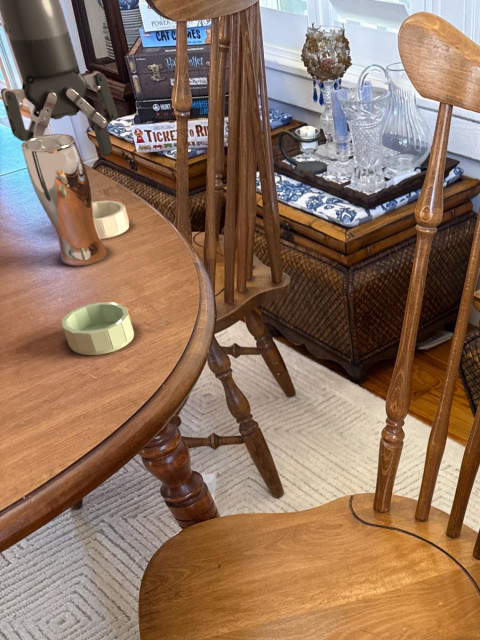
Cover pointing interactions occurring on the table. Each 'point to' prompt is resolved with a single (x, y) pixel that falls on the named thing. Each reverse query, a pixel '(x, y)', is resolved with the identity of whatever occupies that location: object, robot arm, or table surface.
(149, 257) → the table surface
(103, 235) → the faceted cream ring
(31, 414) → the table surface
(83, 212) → the beer glass
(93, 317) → the pale green hollow cylinder
